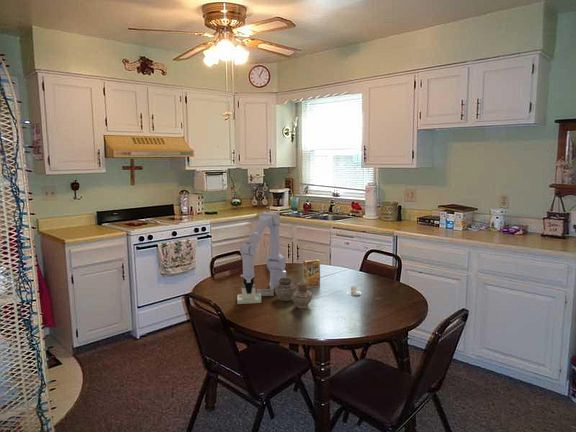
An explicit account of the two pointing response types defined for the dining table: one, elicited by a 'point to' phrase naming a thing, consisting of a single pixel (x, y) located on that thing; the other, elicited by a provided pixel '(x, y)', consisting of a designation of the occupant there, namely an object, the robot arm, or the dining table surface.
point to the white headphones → (354, 291)
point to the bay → (266, 291)
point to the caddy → (248, 296)
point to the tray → (244, 301)
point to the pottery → (293, 292)
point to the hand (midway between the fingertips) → (249, 292)
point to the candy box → (311, 272)
